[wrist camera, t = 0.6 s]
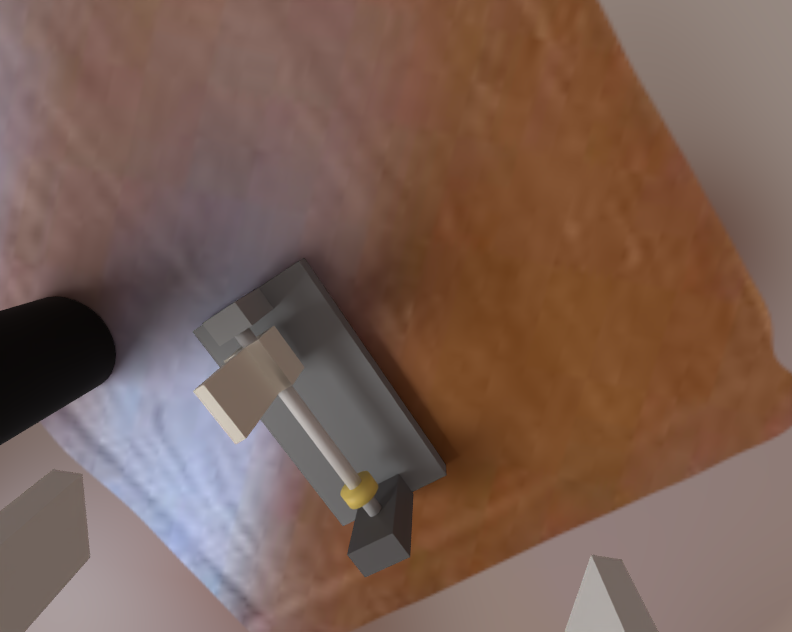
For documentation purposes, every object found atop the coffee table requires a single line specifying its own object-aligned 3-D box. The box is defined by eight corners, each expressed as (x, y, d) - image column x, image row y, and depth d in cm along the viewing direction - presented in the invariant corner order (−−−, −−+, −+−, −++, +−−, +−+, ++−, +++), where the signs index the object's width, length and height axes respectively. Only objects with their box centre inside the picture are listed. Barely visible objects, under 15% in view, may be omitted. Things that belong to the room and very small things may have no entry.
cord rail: (201, 326, 38) (139, 364, 30) (304, 258, 36) (267, 279, 28) (347, 516, 42) (327, 594, 34) (446, 466, 40) (451, 537, 32)
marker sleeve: (241, 345, 34) (177, 400, 26) (274, 325, 34) (219, 374, 25) (272, 386, 35) (220, 453, 26) (304, 367, 35) (261, 429, 26)
